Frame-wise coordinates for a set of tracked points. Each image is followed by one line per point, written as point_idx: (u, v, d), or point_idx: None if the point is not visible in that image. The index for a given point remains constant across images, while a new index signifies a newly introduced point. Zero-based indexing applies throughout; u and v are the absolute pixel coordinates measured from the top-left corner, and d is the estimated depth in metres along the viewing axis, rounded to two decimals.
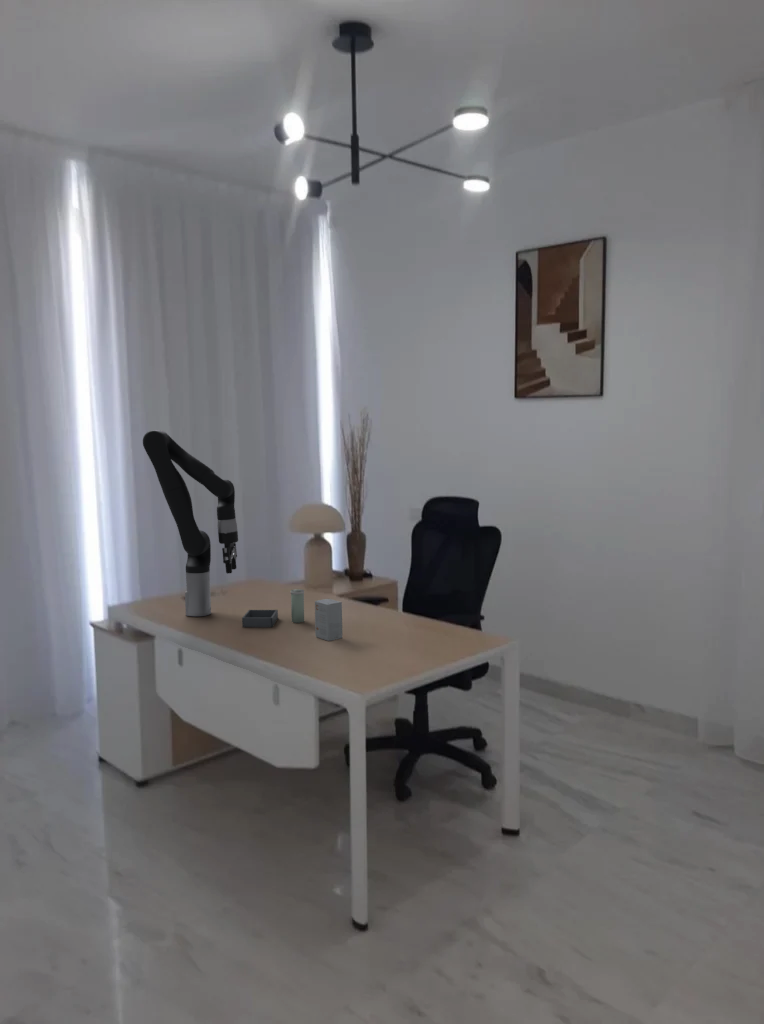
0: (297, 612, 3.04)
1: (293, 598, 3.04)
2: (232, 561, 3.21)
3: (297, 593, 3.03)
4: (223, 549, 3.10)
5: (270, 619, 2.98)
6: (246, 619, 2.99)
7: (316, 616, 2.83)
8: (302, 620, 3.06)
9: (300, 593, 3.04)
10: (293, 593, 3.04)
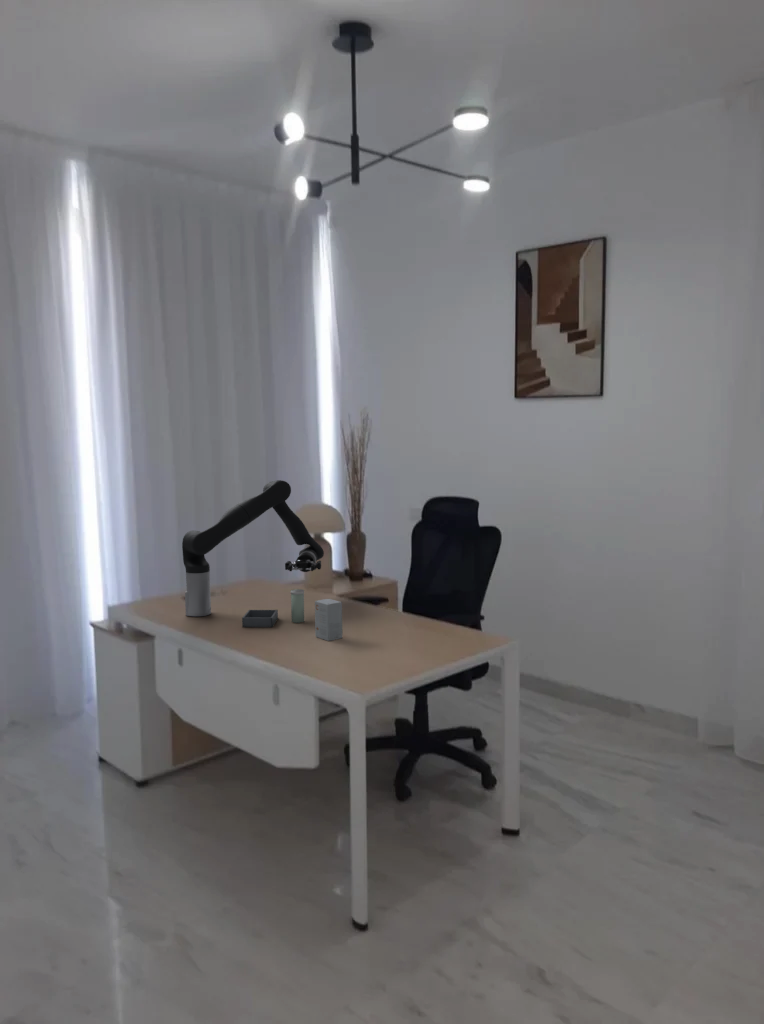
0: (297, 612, 3.04)
1: (293, 598, 3.04)
2: (292, 567, 3.20)
3: (297, 593, 3.03)
4: None
5: (270, 619, 2.98)
6: (246, 619, 2.99)
7: (316, 616, 2.83)
8: (302, 620, 3.06)
9: (300, 593, 3.04)
10: (293, 593, 3.04)
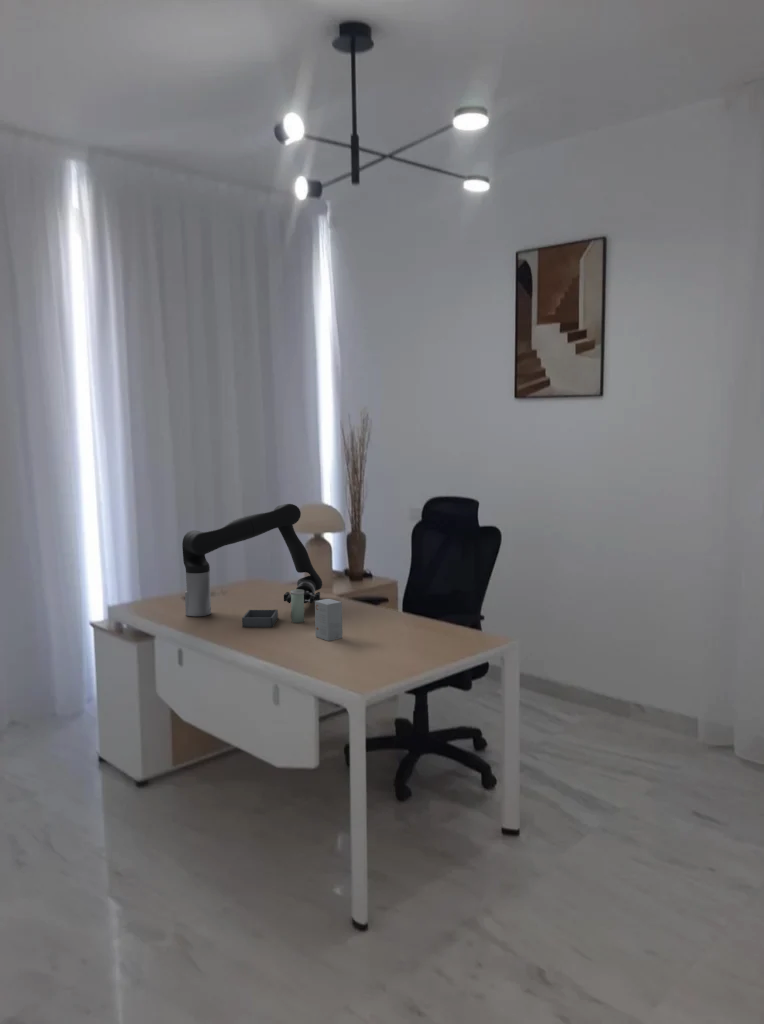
0: (297, 612, 3.04)
1: (293, 598, 3.04)
2: None
3: (297, 593, 3.03)
4: (319, 593, 3.23)
5: (270, 619, 2.98)
6: (246, 619, 2.99)
7: (316, 616, 2.83)
8: (302, 620, 3.06)
9: (300, 593, 3.04)
10: (293, 593, 3.04)
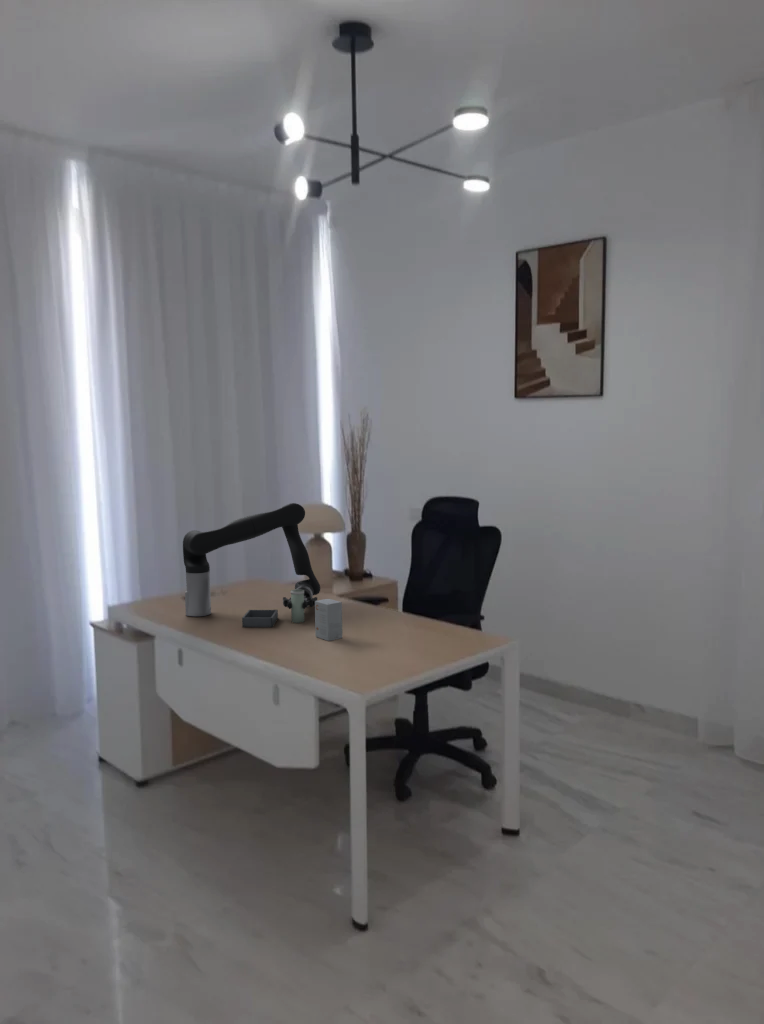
0: (297, 612, 3.04)
1: (293, 598, 3.04)
2: None
3: (297, 593, 3.03)
4: None
5: (270, 619, 2.98)
6: (246, 619, 2.99)
7: (316, 616, 2.83)
8: (302, 620, 3.06)
9: (300, 593, 3.04)
10: (293, 593, 3.04)
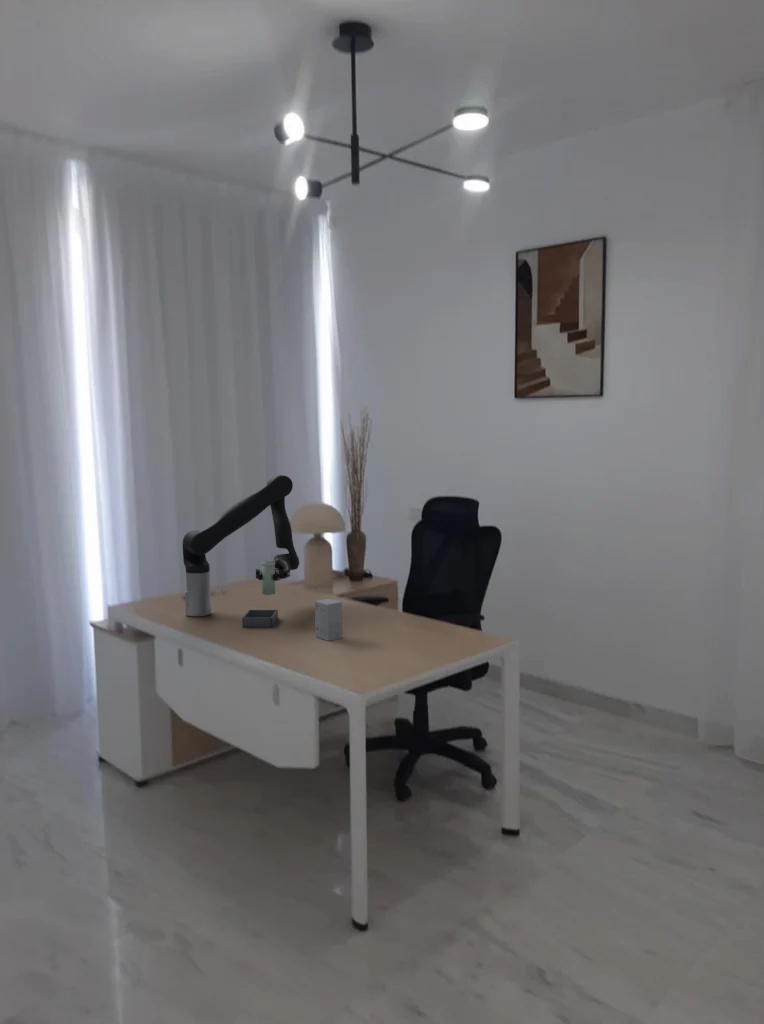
0: (267, 584, 3.01)
1: (263, 569, 3.01)
2: None
3: (267, 564, 3.00)
4: (289, 571, 3.10)
5: (270, 619, 2.98)
6: (246, 619, 2.99)
7: (316, 616, 2.83)
8: (273, 592, 3.03)
9: (270, 564, 3.01)
10: (263, 564, 3.01)
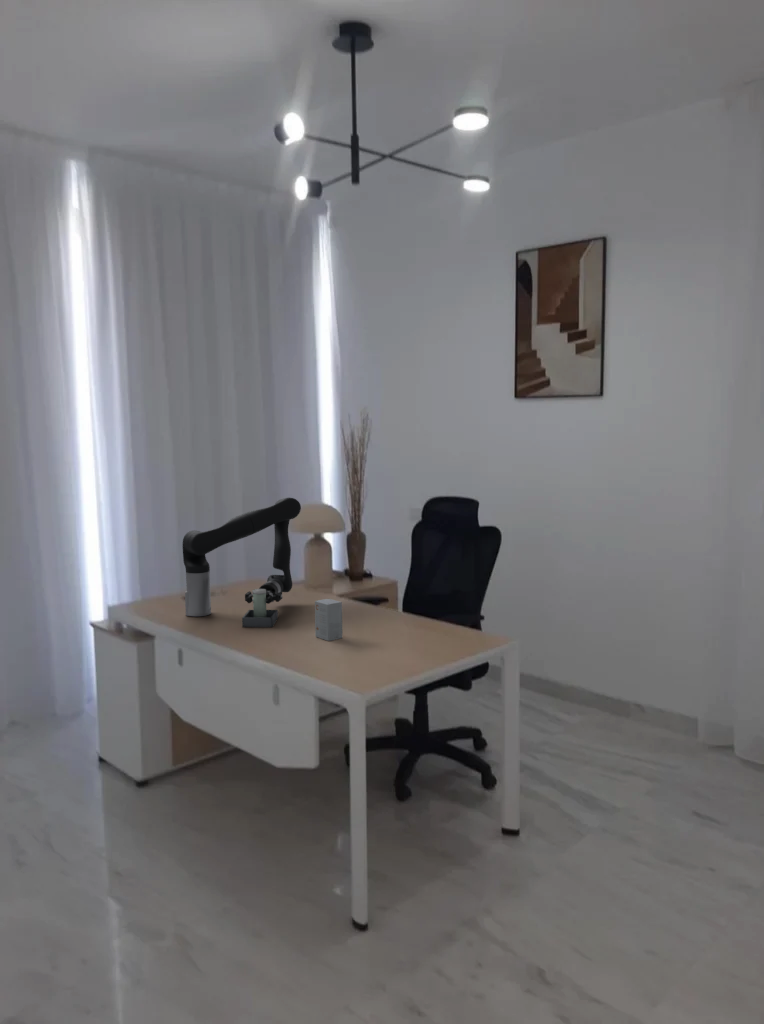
0: (258, 612, 3.02)
1: (254, 598, 3.02)
2: (251, 598, 3.06)
3: (258, 593, 3.01)
4: None
5: (270, 619, 2.98)
6: (246, 619, 2.99)
7: (316, 616, 2.83)
8: None
9: (261, 593, 3.02)
10: (254, 593, 3.02)
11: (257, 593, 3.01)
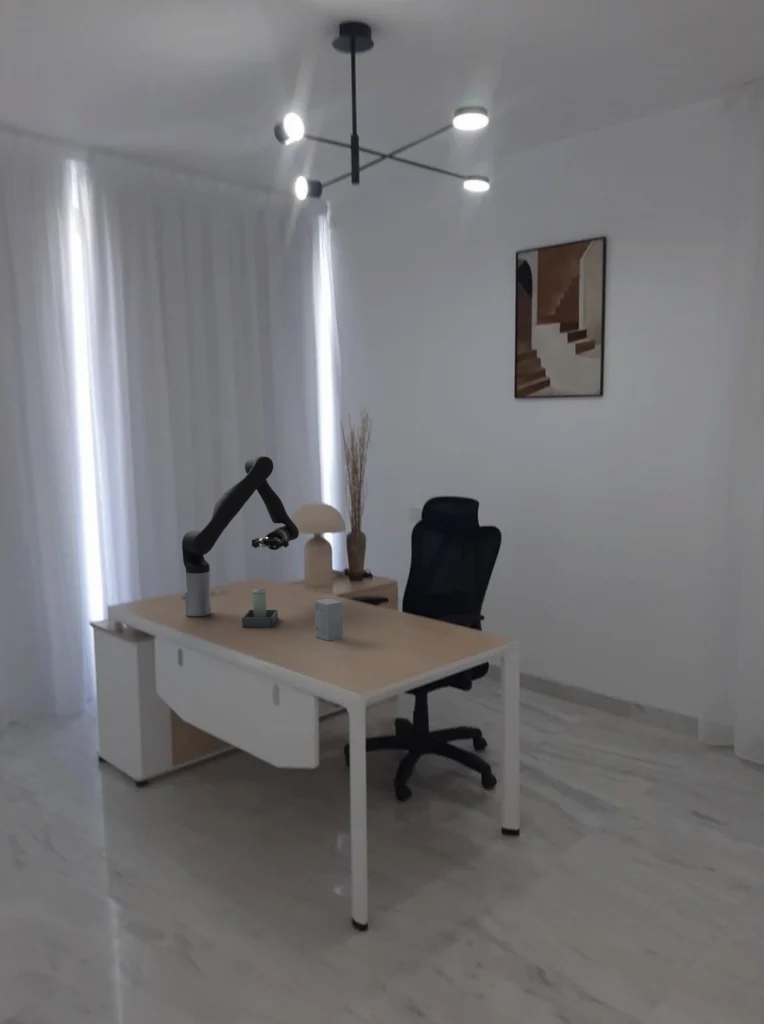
0: (258, 612, 3.03)
1: (254, 597, 3.03)
2: (258, 543, 3.18)
3: (258, 592, 3.02)
4: (288, 540, 3.23)
5: (270, 619, 2.98)
6: (246, 619, 2.99)
7: (316, 616, 2.83)
8: None
9: (261, 592, 3.02)
10: (254, 592, 3.02)
11: (257, 592, 3.02)
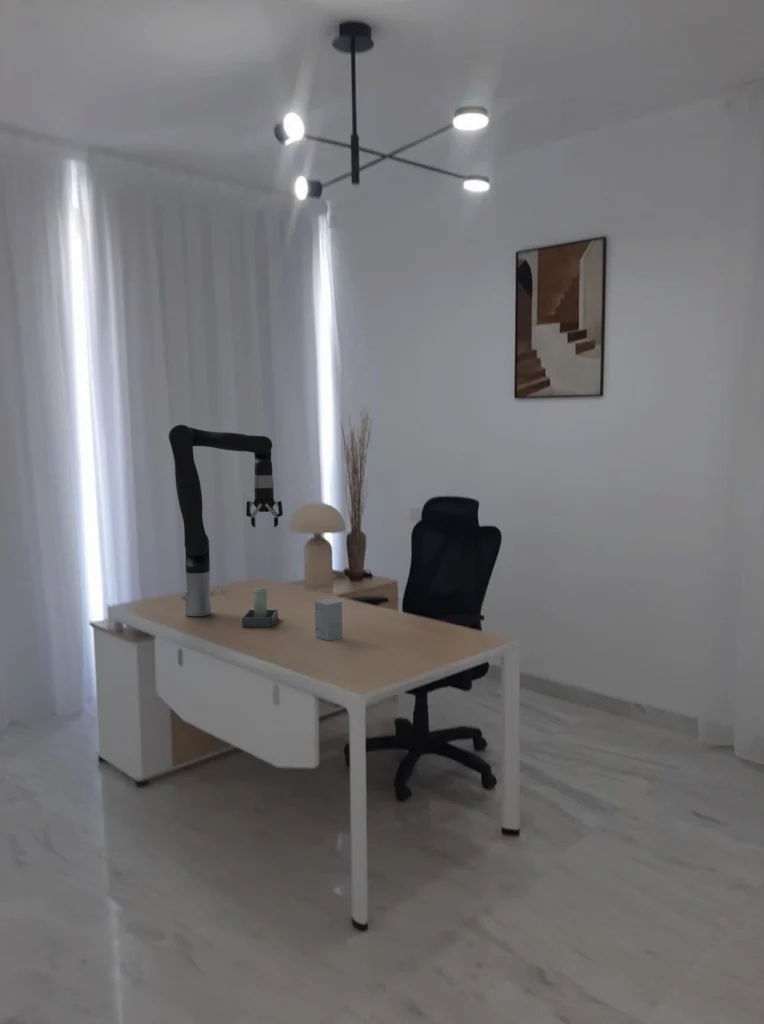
0: (259, 612, 3.03)
1: (255, 597, 3.03)
2: (254, 518, 3.21)
3: (259, 592, 3.02)
4: (280, 502, 3.20)
5: (270, 619, 2.98)
6: (246, 619, 2.99)
7: (316, 616, 2.83)
8: None
9: (263, 592, 3.02)
10: (256, 592, 3.02)
11: (258, 592, 3.02)
